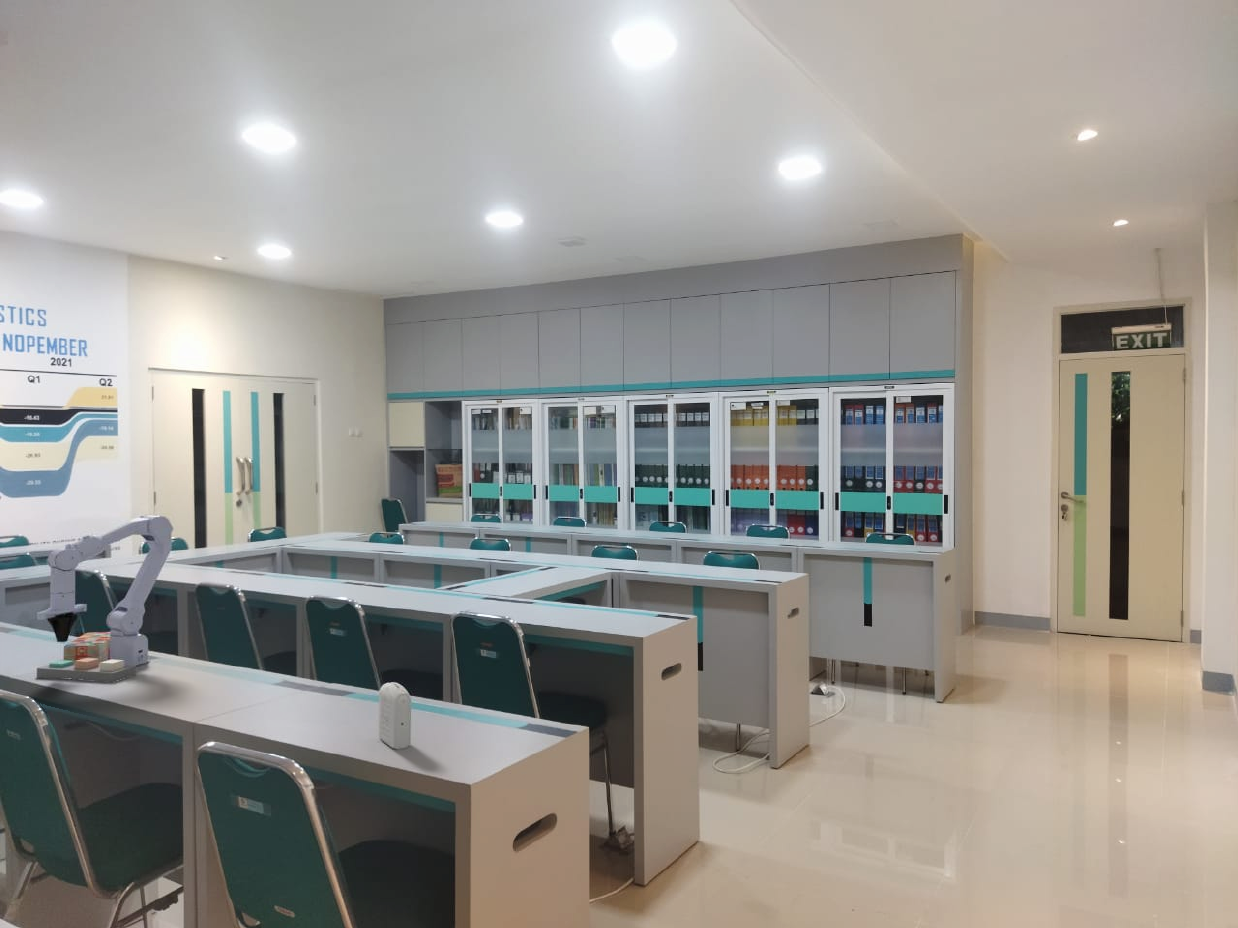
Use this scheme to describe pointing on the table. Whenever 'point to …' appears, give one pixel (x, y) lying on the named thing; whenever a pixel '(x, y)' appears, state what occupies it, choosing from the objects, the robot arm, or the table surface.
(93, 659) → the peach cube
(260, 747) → the table surface
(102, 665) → the cream button
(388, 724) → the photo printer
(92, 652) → the stack of blocks
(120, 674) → the button panel
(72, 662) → the teal button
